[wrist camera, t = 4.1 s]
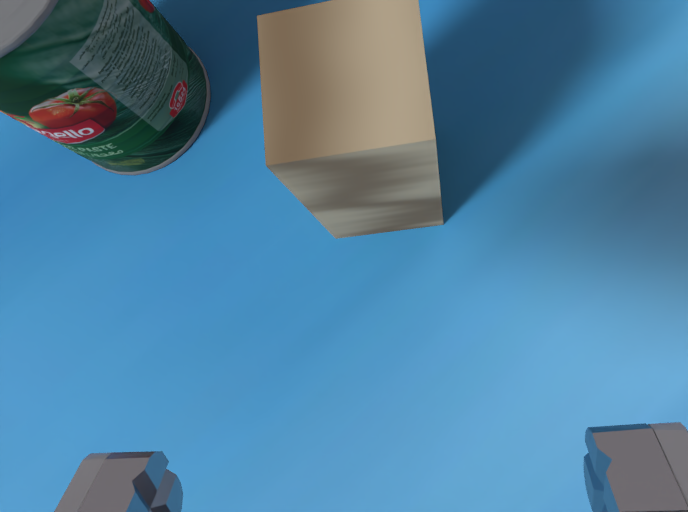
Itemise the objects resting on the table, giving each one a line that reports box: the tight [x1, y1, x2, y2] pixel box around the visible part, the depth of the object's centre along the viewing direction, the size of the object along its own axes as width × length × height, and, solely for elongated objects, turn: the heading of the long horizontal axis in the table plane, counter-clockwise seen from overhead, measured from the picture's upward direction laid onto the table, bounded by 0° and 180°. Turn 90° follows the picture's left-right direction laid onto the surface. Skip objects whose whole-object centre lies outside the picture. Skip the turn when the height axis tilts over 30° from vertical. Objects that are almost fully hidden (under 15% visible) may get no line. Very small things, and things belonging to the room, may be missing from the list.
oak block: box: [257, 0, 444, 239], centre depth 22 cm, size 5×5×10 cm
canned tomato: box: [0, 0, 211, 175], centre depth 24 cm, size 8×8×11 cm
